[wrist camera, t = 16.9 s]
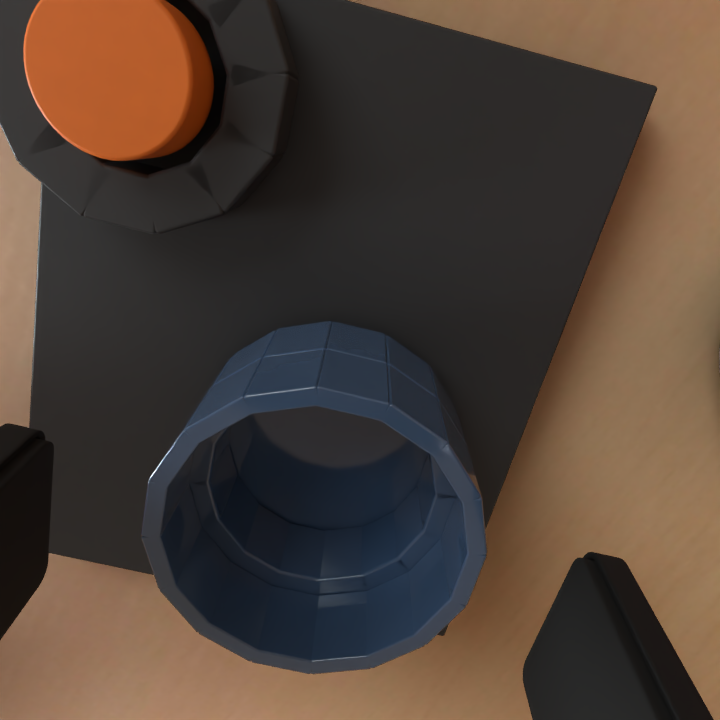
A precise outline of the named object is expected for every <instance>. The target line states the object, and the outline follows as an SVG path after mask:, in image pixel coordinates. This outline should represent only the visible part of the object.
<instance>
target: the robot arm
mask: <svg viewBox="0 0 720 720" xmlns="http://www.w3.org/2000/svg"><path fill="white" fill-rule="evenodd" d="M53 460H54V445H53V443H52V442H50V441H46V440H45V434H44V432H42V431H41V430H36V429H32V428H27V427H23V426H18V425H14V424H4V425H3V426H1V427H0V640H1V638H2V637H3V636H4V634H5V633H6V631H7V630H8V629H9V627H10V626H11V624H12V623H13V622H14V620H15V619H16V617H17V616H18V615H19V613H20V612H21V610H22V609H23V608H24V606H25V605H26V603H27V602H28V601H29V599H30V598H31V597H32V595H33V594H34V592H35V591H36V590H37V588H38V587H39V585H40V584H41V582H42V580H43V578H44V575H45V573H46V570H47V566H48V554H49V535H50V516H51V497H52V479H53ZM523 683H524V687H525V691H526V695H527V699H528V703H529V707H530V711H531V714H532V718H533V720H713V718H712V716H711V714H710V712H709V711H708V709H707V707H706V705H705V703H704V702H703V700H702V698H701V696H700V694H699V693H698V691H697V689H696V687H695V686H694V684H693V682H692V680H691V678H690V677H689V675H688V673H687V671H686V669H685V668H684V666H683V664H682V662H681V660H680V659H679V657H678V655H677V653H676V651H675V650H674V648H673V646H672V644H671V642H670V641H669V639H668V637H667V635H666V634H665V632H664V630H663V628H662V626H661V625H660V623H659V621H658V619H657V617H656V616H655V614H654V612H653V610H652V608H651V607H650V605H649V603H648V601H647V599H646V598H645V596H644V594H643V592H642V591H641V589H640V587H639V585H638V583H637V582H636V580H635V578H634V576H633V574H632V573H631V571H630V569H629V567H628V565H627V564H626V563H625V561H624V560H622V559H620V558H617V557H612V556H608V555H603V554H599V553H594V552H588V553H587V554H586V555H585V556H584V557H583V558H577V559H575V560H574V562H573V564H572V566H571V568H570V570H569V572H568V574H567V576H566V578H565V580H564V582H563V584H562V586H561V588H560V590H559V592H558V594H557V596H556V599H555V601H554V603H553V605H552V607H551V609H550V611H549V613H548V615H547V617H546V619H545V621H544V623H543V625H542V627H541V629H540V631H539V634H538V636H537V638H536V640H535V642H534V644H533V646H532V648H531V650H530V652H529V654H528V656H527V658H526V660H525V663H524V667H523Z"/></svg>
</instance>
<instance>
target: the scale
mask: <svg viewBox="0 0 720 720" xmlns="http://www.w3.org/2000/svg"><path fill="white" fill-rule="evenodd" d="M39 1H40V0H0V125H1V128H2V130H3V132H4V134H5V136H6V138H7V140H8V143H9V145H10V147H11V149H12V151H13V153H14V155H15V158H16V160H17V161H18V162H19V164H20V165H22V166H23V167H24V168H25V169H26V170H27V171H29V172H30V173H31V174H32V175H33V176H34V177H36V178H37V179H38V180H39V181H40V182H41V199H40V220H39V240H38V261H37V281H36V302H35V322H34V343H33V363H32V384H31V404H30V425H29V428H32V429H36V430H41V431H42V432H44V434H45V440H46V441H50V442H52V443H53V445H54V460H53V479H52V497H51V516H50V535H49V553H52V554H57V555H62V556H66V557H71V558H76V559H81V560H85V561H90V562H95V563H100V564H104V565H109V566H114V567H119V568H123V569H128V570H133V571H137V572H142V573H147V574H152V575H154V574H153V571H152V568H151V565H150V562H149V559H148V556H147V553H146V550H145V547H144V544H143V541H142V538H141V537H142V536H141V529H142V522H143V515H144V507H145V500H146V493H147V485H148V480H149V478H150V476H151V474H152V473H153V471H154V470H155V468H156V467H157V465H158V464H159V462H160V461H161V459H162V458H163V456H164V454H165V453H166V451H167V450H168V448H169V447H170V445H171V444H172V442H173V441H174V439H175V438H176V436H177V435H178V433H179V432H180V430H181V429H182V427H183V426H184V424H185V423H186V421H187V420H188V418H189V416H190V415H191V413H192V412H193V410H194V409H195V407H196V406H197V404H198V403H199V401H200V400H201V398H202V397H203V395H204V394H205V392H206V391H207V389H208V388H209V386H210V385H211V384H212V382H213V381H214V379H215V378H216V377H217V375H218V374H219V372H220V371H221V369H222V368H223V367H224V365H225V364H226V362H227V361H228V359H229V358H231V357H232V356H233V355H234V354H235V353H237V352H238V351H240V350H242V349H243V348H245V347H247V346H248V345H250V344H252V343H254V342H255V341H257V340H259V339H260V338H262V337H264V336H265V335H267V334H269V333H271V332H272V331H276V330H277V329H278V328H283V327H290V326H297V325H304V324H312V323H319V322H326V321H332V322H338V323H343V324H347V325H351V326H355V327H359V328H363V329H367V330H371V331H376V332H380V333H384V334H385V335H386V336H390V337H391V338H393V339H394V340H395V341H397V342H398V343H400V344H401V345H402V346H404V347H405V348H407V349H408V350H409V351H411V352H412V353H414V354H415V355H416V356H418V357H419V358H421V359H422V360H423V361H425V362H426V363H428V365H429V367H431V368H432V369H433V370H434V372H435V374H436V375H437V377H438V379H439V380H440V382H441V384H442V385H443V387H444V389H445V390H446V392H447V394H448V395H449V397H450V399H451V400H452V402H453V404H454V405H455V408H456V410H457V413H458V417H459V420H460V424H461V427H462V431H463V434H464V438H465V441H466V444H467V448H468V451H469V455H470V458H471V462H472V465H473V468H474V472H475V475H476V479H477V482H478V486H479V489H480V492H481V496H482V501H483V512H484V522H485V529H486V527H487V524H488V522H489V519H490V516H491V514H492V511H493V509H494V506H495V504H496V501H497V498H498V496H499V493H500V491H501V488H502V486H503V483H504V480H505V478H506V475H507V473H508V470H509V468H510V465H511V463H512V460H513V457H514V455H515V452H516V450H517V447H518V445H519V442H520V439H521V437H522V434H523V432H524V429H525V427H526V424H527V422H528V419H529V416H530V414H531V411H532V409H533V406H534V404H535V401H536V398H537V396H538V393H539V391H540V388H541V386H542V383H543V381H544V378H545V375H546V373H547V370H548V368H549V365H550V363H551V360H552V357H553V355H554V352H555V350H556V347H557V345H558V342H559V340H560V337H561V334H562V332H563V329H564V327H565V324H566V322H567V319H568V316H569V314H570V311H571V309H572V306H573V304H574V301H575V298H576V296H577V293H578V291H579V288H580V286H581V283H582V281H583V278H584V275H585V273H586V270H587V268H588V265H589V263H590V260H591V257H592V255H593V252H594V250H595V247H596V245H597V242H598V240H599V237H600V234H601V232H602V229H603V227H604V224H605V222H606V219H607V216H608V214H609V211H610V209H611V206H612V204H613V201H614V199H615V196H616V193H617V191H618V188H619V186H620V183H621V181H622V178H623V175H624V173H625V170H626V168H627V165H628V163H629V160H630V158H631V155H632V152H633V150H634V147H635V145H636V142H637V140H638V137H639V134H640V132H641V129H642V127H643V124H644V122H645V119H646V117H647V114H648V111H649V109H650V106H651V104H652V101H653V99H654V96H655V93H656V91H657V87H656V86H654V85H650V84H647V83H643V82H639V81H636V80H632V79H629V78H625V77H621V76H618V75H614V74H611V73H607V72H603V71H600V70H596V69H593V68H589V67H585V66H582V65H578V64H575V63H571V62H567V61H564V60H560V59H557V58H553V57H549V56H546V55H542V54H539V53H535V52H531V51H528V50H524V49H521V48H517V47H513V46H510V45H506V44H503V43H499V42H495V41H492V40H488V39H485V38H481V37H477V36H474V35H470V34H467V33H463V32H459V31H456V30H452V29H449V28H445V27H441V26H438V25H434V24H431V23H427V22H423V21H420V20H416V19H413V18H409V17H405V16H402V15H398V14H395V13H391V12H387V11H384V10H380V9H376V8H373V7H369V6H366V5H362V4H358V3H355V2H351V1H348V0H165V1H167V2H168V3H170V4H171V5H173V6H174V7H176V8H177V9H178V10H179V11H180V12H181V13H183V14H184V15H185V16H186V17H187V19H188V20H189V21H190V22H191V23H192V24H193V26H194V27H195V28H196V30H197V31H198V33H199V34H200V36H201V38H202V40H203V42H204V44H205V46H206V49H207V51H208V54H209V57H210V60H211V64H212V69H213V76H214V93H213V101H212V106H211V109H210V112H209V115H208V118H207V120H206V122H205V124H204V126H203V127H202V129H201V130H200V132H199V133H198V135H197V136H196V137H195V138H194V139H193V140H192V141H191V142H190V143H189V144H187V145H186V146H185V147H183V148H182V149H180V150H178V151H177V152H174V153H172V154H169V155H166V156H162V157H156V158H147V159H139V160H129V161H113V160H107V159H102V158H99V157H96V156H93V155H90V154H88V153H86V152H84V151H82V150H80V149H78V148H77V147H75V146H74V145H72V144H71V143H69V142H68V141H67V140H66V139H64V138H63V137H62V136H61V135H60V134H59V133H58V132H57V131H56V130H55V129H54V128H53V127H52V126H51V125H50V123H49V122H48V121H47V120H46V118H45V117H44V115H43V114H42V112H41V111H40V109H39V108H38V106H37V104H36V102H35V100H34V98H33V96H32V93H31V90H30V88H29V85H28V81H27V77H26V73H25V67H24V53H23V48H24V37H25V33H26V28H27V25H28V22H29V19H30V17H31V14H32V12H33V11H34V9H35V7H36V5H37V4H38V2H39ZM447 627H448V625H447V626H445V627H444V628H443V629H442V630H441V631H440V632H439V633H438V634H437V635H441V636H444V634H445V632H446V629H447Z"/></svg>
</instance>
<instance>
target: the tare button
mask: <svg viewBox="0 0 720 720" xmlns="http://www.w3.org/2000/svg"><path fill="white" fill-rule="evenodd" d="M23 53H24V67H25V73H26V77H27V81H28V85H29V88H30V90H31V93H32V96H33V98H34V100H35V102H36V104H37V106H38V108H39V109H40V111H41V112H42V114H43V115H44V117H45V118H46V120H47V121H48V122H49V123H50V125H51V126H52V127H53V128H54V129H55V130H56V131H57V132H58V133H59V134H60V135H61V136H62V137H63V138H64V139H66V140H67V141H68V142H69V143H71V144H72V145H74V146H75V147H77V148H78V149H80V150H82V151H84V152H86V153H88V154H90V155H93V156H96V157H99V158H102V159H107V160H113V161H129V160H139V159H147V158H156V157H162V156H166V155H169V154H172V153H174V152H177V151H178V150H180V149H182V148H183V147H185V146H186V145H187V144H189V143H190V142H191V141H192V140H193V139H194V138H195V137H196V136H197V135H198V133H199V132H200V130H201V129H202V127H203V126H204V124H205V122H206V120H207V118H208V115H209V112H210V109H211V106H212V101H213V93H214V76H213V69H212V64H211V60H210V57H209V54H208V51H207V49H206V46H205V44H204V42H203V40H202V38H201V36H200V34H199V33H198V31H197V30H196V28H195V27H194V26H193V24H192V23H191V22H190V21H189V20H188V19H187V17H186V16H185V15H184V14H183V13H181V12H180V11H179V10H178V9H177V8H176V7H174V6H173V5H171V4H170V3H168V2H167V1H165V0H40V1H39V2H38V4H37V5H36V7H35V9H34V11H33V12H32V14H31V17H30V19H29V22H28V25H27V28H26V33H25V37H24V48H23Z"/></svg>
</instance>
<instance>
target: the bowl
mask: <svg viewBox="0 0 720 720" xmlns="http://www.w3.org/2000/svg"><path fill="white" fill-rule="evenodd" d="M141 536H142V537H141V538H142V541H143V544H144V547H145V550H146V553H147V556H148V559H149V562H150V565H151V568H152V571H153V574H154V577H155V579H156V582H157V585H158V588H159V589H160V591H161V593H162V594H163V595H164V596H165V597H166V598H167V599H168V600H169V601H170V603H171V604H172V605H173V606H174V607H175V608H176V609H177V610H178V612H179V613H180V614H181V615H182V616H183V617H184V618H185V619H186V620H187V622H188V623H189V624H190V625H191V626H192V627H193V628H194V629H195V631H196V632H199V634H200V635H202V636H204V637H206V638H208V639H209V640H211V641H213V642H215V643H217V644H219V645H220V646H222V647H224V648H226V649H228V650H230V651H231V652H233V653H235V654H237V655H239V656H240V657H242V658H244V659H246V660H248V661H252V662H253V663H257V664H262V665H267V666H272V667H277V668H282V669H287V670H292V671H297V672H301V673H306V674H310V673H311V674H321V673H331V672H342V671H353V670H364V669H370V668H375V667H377V666H379V665H382V664H384V663H386V662H389V661H391V660H393V659H396V658H398V657H400V656H403V655H405V654H407V653H409V652H412V651H414V650H416V649H419V648H421V647H423V646H425V645H426V644H428V643H429V642H430V641H431V640H432V639H433V638H434V637H435V636H436V635H437V634H438V633H439V632H440V631H441V630H442V629H443V628H444V627H445V626H447V625H448V624H449V623H450V622H451V621H452V620H453V619H454V618H455V617H456V616H457V615H458V614H459V613H460V612H461V611H462V610H463V609H464V608H465V607H466V605H467V604H468V601H469V599H470V596H471V594H472V591H473V589H474V586H475V584H476V581H477V579H478V576H479V574H480V571H481V569H482V566H483V564H484V561H485V559H486V556H487V544H486V533H485V522H484V512H483V501H482V496H481V492H480V489H479V486H478V482H477V479H476V475H475V472H474V468H473V465H472V462H471V458H470V455H469V451H468V448H467V444H466V441H465V438H464V434H463V431H462V427H461V424H460V420H459V417H458V413H457V410H456V408H455V405H454V404H453V402H452V400H451V399H450V397H449V395H448V394H447V392H446V390H445V389H444V387H443V385H442V384H441V382H440V380H439V379H438V377H437V375H436V374H435V372H434V370H433V369H432V368H431V367H429V365H428V363H426V362H425V361H423V360H422V359H421V358H419V357H418V356H416V355H415V354H414V353H412V352H411V351H409V350H408V349H407V348H405V347H404V346H402V345H401V344H400V343H398V342H397V341H395V340H394V339H393V338H391V337H390V336H386V335H385V334H384V333H380V332H376V331H371V330H367V329H363V328H359V327H355V326H351V325H347V324H343V323H338V322H332V321H326V322H319V323H312V324H304V325H297V326H290V327H283V328H278V329H277V330H276V331H272V332H271V333H269V334H267V335H265V336H264V337H262V338H260V339H259V340H257V341H255V342H254V343H252V344H250V345H248V346H247V347H245V348H243V349H242V350H240V351H238V352H237V353H235V354H234V355H233V356H232V357H231V358H229V359H228V361H227V362H226V364H225V365H224V367H223V368H222V369H221V371H220V372H219V374H218V375H217V377H216V378H215V379H214V381H213V382H212V384H211V385H210V386H209V388H208V389H207V391H206V392H205V394H204V395H203V397H202V398H201V400H200V401H199V403H198V404H197V406H196V407H195V409H194V410H193V412H192V413H191V415H190V416H189V418H188V420H187V421H186V423H185V424H184V426H183V427H182V429H181V430H180V432H179V433H178V435H177V436H176V438H175V439H174V441H173V442H172V444H171V445H170V447H169V448H168V450H167V451H166V453H165V454H164V456H163V458H162V459H161V461H160V462H159V464H158V465H157V467H156V468H155V470H154V471H153V473H152V474H151V476H150V478H149V480H148V485H147V493H146V500H145V507H144V515H143V522H142V529H141Z"/></svg>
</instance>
